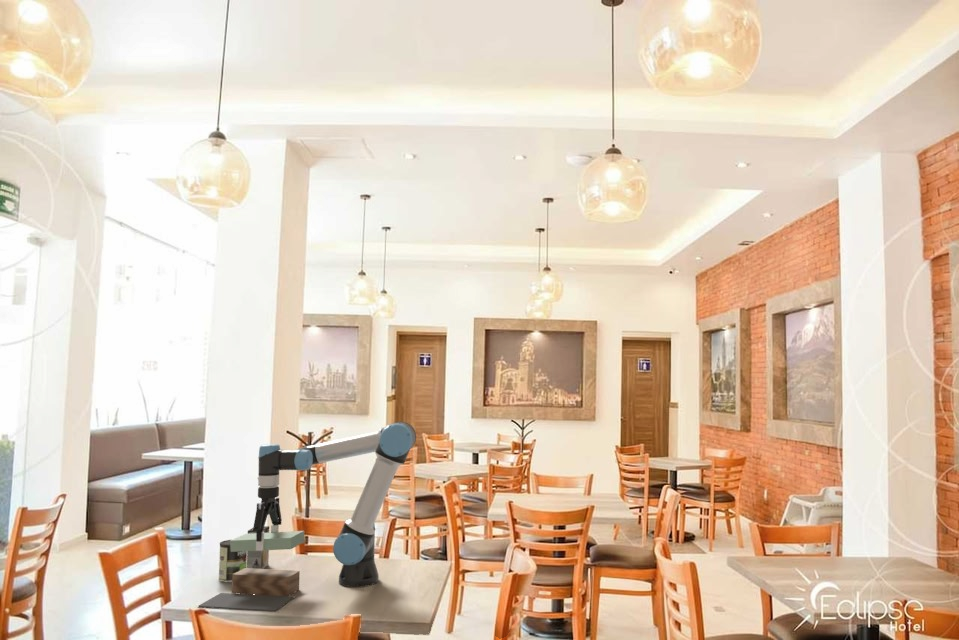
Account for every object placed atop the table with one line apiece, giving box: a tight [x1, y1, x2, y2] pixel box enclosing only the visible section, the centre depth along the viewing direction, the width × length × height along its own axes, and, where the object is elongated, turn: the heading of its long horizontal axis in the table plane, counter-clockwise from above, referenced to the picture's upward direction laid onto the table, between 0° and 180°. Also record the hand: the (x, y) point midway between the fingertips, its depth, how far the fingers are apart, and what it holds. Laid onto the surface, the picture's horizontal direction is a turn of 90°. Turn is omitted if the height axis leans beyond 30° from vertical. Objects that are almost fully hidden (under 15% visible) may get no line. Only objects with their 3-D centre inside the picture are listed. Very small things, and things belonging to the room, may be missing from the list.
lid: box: [229, 530, 306, 552], centre depth 257 cm, size 24×11×4 cm, turn 78°
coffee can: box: [218, 539, 247, 583], centre depth 272 cm, size 10×10×14 cm
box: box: [231, 567, 301, 596], centre depth 255 cm, size 22×9×7 cm, turn 80°
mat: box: [198, 592, 295, 613], centre depth 241 cm, size 28×15×1 cm, turn 81°
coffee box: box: [246, 525, 270, 569], centre depth 288 cm, size 9×6×16 cm
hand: (267, 546), depth 257 cm, fingers closed on lid, 11 cm apart
